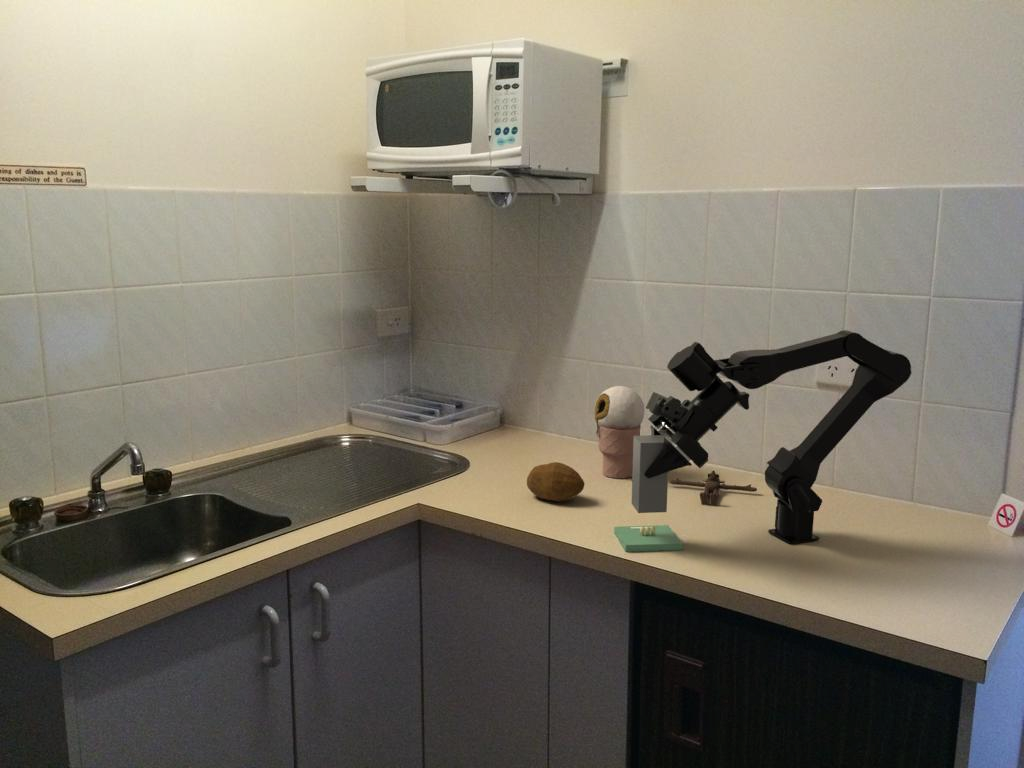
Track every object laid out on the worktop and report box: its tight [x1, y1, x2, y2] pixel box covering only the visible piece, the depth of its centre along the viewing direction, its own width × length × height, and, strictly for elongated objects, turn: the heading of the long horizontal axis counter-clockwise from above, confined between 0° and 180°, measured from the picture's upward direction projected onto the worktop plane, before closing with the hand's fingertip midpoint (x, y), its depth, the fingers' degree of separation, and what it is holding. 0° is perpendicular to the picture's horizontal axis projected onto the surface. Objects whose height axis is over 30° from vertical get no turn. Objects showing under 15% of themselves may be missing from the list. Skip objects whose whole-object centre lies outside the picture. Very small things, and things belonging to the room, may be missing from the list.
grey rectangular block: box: [631, 434, 669, 514], centre depth 152 cm, size 5×5×12 cm
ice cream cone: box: [594, 385, 646, 480], centre depth 192 cm, size 11×11×20 cm
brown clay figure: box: [668, 470, 758, 507], centre depth 180 cm, size 18×4×14 cm
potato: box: [526, 461, 585, 502], centre depth 176 cm, size 8×12×8 cm, turn 70°
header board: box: [613, 524, 683, 553], centre depth 154 cm, size 10×9×3 cm
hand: (642, 472), depth 151 cm, fingers closed on grey rectangular block, 5 cm apart
